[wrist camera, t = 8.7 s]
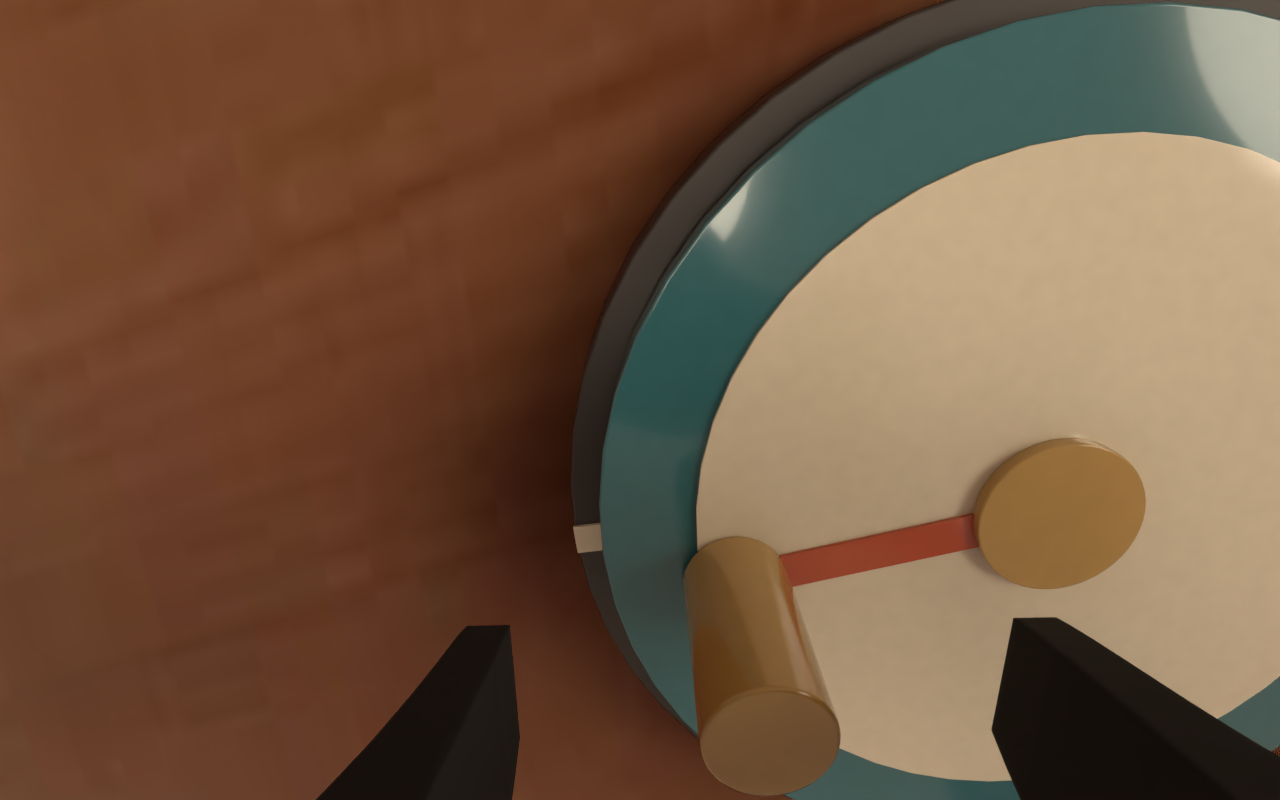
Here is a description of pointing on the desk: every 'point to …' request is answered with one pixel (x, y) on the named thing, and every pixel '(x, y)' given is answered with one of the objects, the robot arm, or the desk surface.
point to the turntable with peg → (965, 405)
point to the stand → (965, 12)
